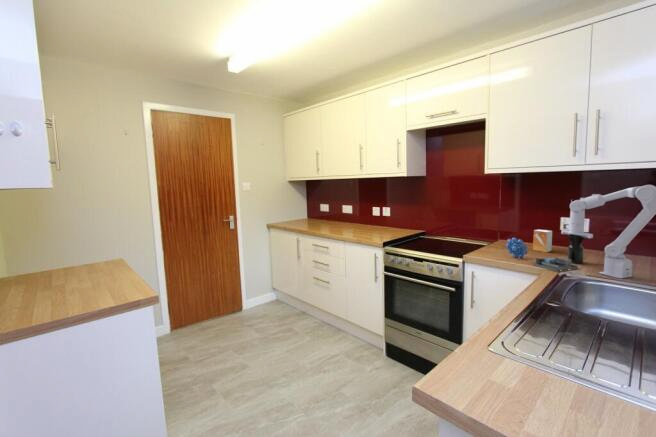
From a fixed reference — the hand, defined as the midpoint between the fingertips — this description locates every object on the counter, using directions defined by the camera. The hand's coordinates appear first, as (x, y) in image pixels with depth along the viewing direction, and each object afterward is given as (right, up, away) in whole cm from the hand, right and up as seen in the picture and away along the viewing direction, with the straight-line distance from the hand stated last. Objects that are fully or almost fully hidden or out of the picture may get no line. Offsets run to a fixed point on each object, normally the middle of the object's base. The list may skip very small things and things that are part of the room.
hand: (575, 249), depth 162 cm
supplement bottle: (+9, -8, +12) cm, 17 cm away
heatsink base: (-7, -10, +6) cm, 13 cm away
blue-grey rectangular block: (-10, -8, +8) cm, 15 cm away
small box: (+10, -5, +40) cm, 41 cm away
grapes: (-16, -8, +26) cm, 31 cm away
